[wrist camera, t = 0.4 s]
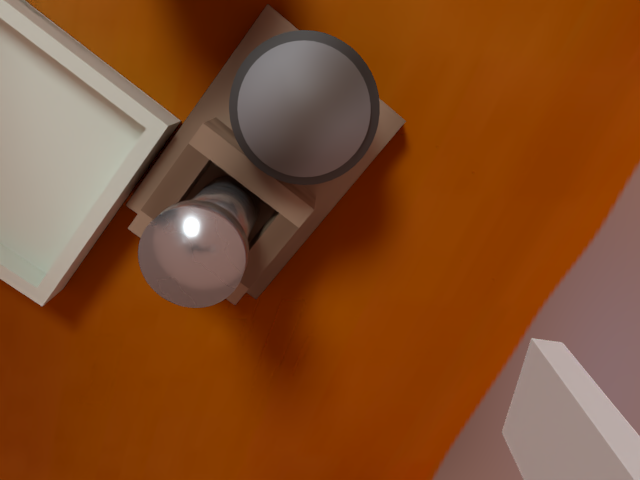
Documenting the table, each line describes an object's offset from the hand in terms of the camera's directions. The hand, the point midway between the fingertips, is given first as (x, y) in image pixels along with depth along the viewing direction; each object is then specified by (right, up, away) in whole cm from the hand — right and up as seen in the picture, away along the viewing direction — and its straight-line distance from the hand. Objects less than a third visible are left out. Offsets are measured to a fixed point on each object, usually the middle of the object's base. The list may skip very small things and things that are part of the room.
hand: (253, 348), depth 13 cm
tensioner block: (-2, +9, +24) cm, 26 cm away
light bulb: (-4, +5, +23) cm, 24 cm away
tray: (-20, +10, +24) cm, 33 cm away
